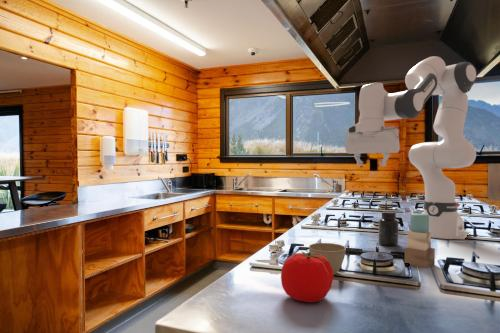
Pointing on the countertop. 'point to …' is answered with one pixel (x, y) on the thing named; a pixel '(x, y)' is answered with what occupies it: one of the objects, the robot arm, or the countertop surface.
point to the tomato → (307, 277)
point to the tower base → (420, 257)
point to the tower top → (419, 240)
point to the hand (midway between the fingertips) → (371, 165)
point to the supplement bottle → (388, 229)
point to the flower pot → (330, 253)
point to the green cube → (419, 223)
